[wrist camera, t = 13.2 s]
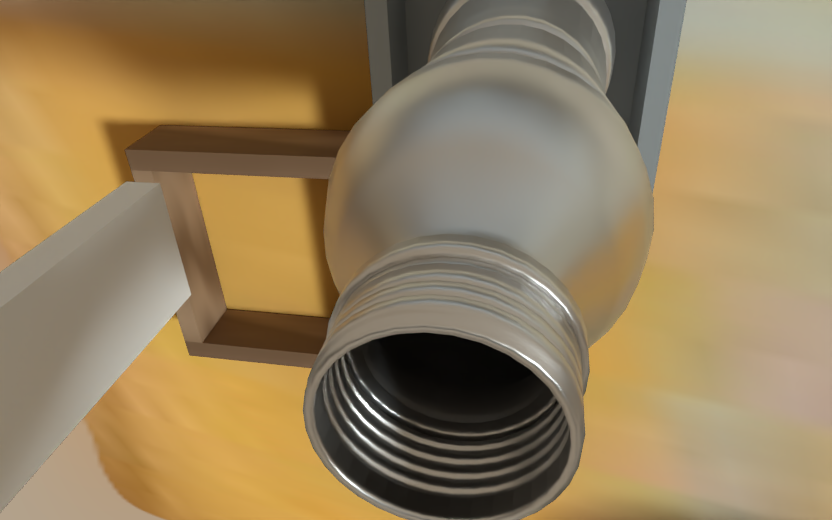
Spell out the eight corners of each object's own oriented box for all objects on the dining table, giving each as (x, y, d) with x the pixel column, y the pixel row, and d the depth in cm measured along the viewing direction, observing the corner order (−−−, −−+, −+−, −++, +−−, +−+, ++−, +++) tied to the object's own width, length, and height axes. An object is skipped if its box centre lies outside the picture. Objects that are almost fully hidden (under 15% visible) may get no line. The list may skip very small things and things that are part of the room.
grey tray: (639, 179, 27) (648, 218, 24) (399, 169, 29) (381, 204, 26) (690, -140, 21) (711, -139, 18) (380, -125, 23) (353, -122, 20)
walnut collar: (397, 338, 35) (385, 375, 32) (214, 321, 37) (189, 355, 34) (381, 131, 28) (364, 158, 26) (160, 125, 30) (124, 149, 28)
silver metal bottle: (643, -21, 22) (865, 328, 6) (566, 146, 26) (570, 640, 10) (472, -81, 22) (219, 100, 6) (421, 95, 26) (180, 501, 10)
